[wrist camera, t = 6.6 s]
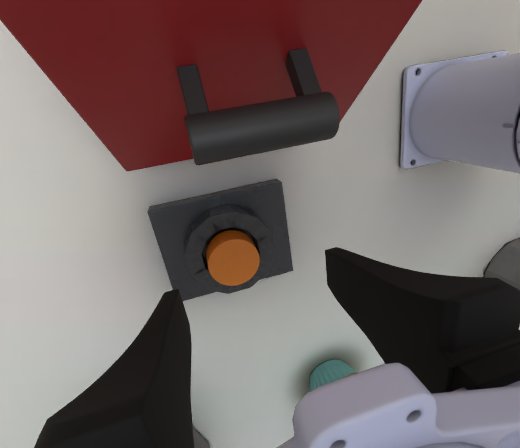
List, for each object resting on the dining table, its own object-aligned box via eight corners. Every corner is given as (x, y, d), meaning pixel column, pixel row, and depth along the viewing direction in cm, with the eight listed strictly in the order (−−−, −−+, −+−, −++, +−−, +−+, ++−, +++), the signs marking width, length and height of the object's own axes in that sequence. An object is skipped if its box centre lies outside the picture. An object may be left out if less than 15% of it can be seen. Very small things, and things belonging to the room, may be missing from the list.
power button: (250, 224, 21) (255, 233, 20) (257, 266, 23) (263, 278, 21) (200, 236, 21) (202, 247, 19) (212, 278, 22) (214, 292, 20)
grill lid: (-484, -624, 2) (-654, -298, 2) (659, -418, 4) (836, -234, 4) (123, 159, 16) (137, 231, 15) (330, 120, 18) (352, 182, 17)
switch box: (277, 178, 23) (289, 187, 20) (288, 264, 26) (300, 281, 24) (149, 206, 22) (144, 220, 19) (177, 294, 25) (177, 317, 22)
